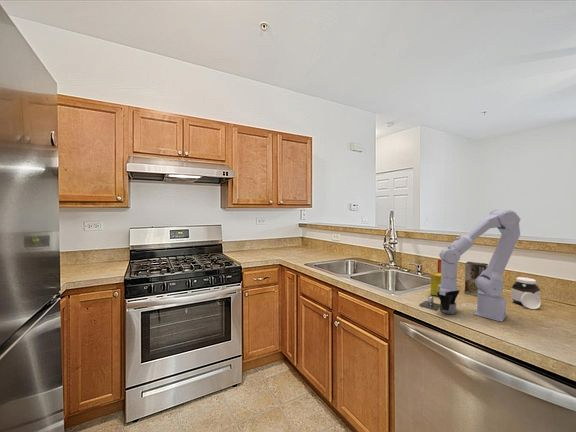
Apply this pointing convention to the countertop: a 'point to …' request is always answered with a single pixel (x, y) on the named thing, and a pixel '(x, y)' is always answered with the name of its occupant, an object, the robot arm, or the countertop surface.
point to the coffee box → (473, 276)
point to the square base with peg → (430, 304)
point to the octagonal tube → (451, 309)
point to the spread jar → (526, 293)
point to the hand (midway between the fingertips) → (448, 308)
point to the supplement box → (435, 283)
